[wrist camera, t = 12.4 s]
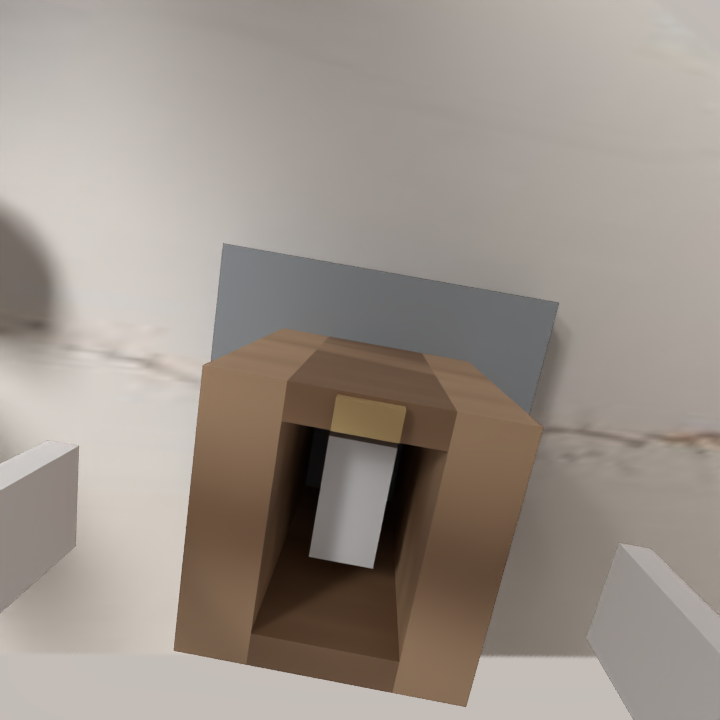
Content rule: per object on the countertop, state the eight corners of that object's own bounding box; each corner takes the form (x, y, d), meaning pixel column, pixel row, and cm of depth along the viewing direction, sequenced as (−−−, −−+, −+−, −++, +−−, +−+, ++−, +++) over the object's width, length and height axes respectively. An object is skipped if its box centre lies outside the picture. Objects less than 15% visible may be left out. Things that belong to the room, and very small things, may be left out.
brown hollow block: (429, 529, 19) (468, 719, 11) (259, 497, 19) (168, 660, 11) (468, 361, 17) (549, 431, 9) (283, 328, 17) (197, 367, 9)
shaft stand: (239, 247, 19) (138, 221, 11) (540, 300, 19) (658, 313, 11) (209, 518, 21) (110, 654, 14) (471, 567, 21) (525, 734, 13)
